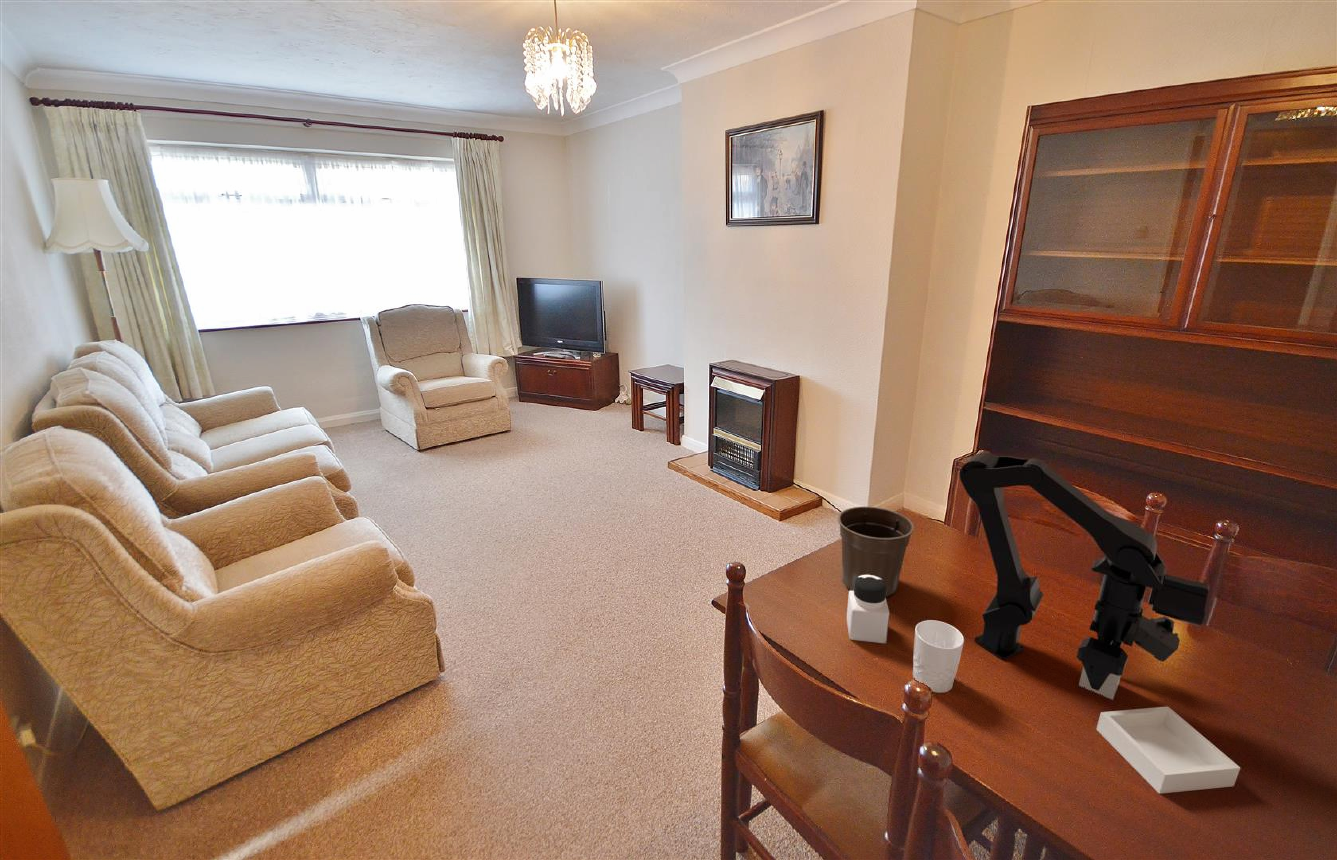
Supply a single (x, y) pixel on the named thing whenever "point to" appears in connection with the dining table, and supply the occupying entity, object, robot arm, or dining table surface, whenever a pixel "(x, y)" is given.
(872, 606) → the medicine bottle
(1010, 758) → the dining table surface
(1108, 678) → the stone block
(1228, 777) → the tray
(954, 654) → the white cup
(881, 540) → the plant pot
